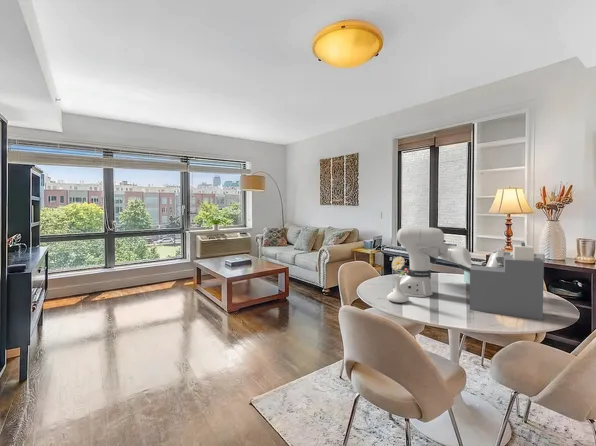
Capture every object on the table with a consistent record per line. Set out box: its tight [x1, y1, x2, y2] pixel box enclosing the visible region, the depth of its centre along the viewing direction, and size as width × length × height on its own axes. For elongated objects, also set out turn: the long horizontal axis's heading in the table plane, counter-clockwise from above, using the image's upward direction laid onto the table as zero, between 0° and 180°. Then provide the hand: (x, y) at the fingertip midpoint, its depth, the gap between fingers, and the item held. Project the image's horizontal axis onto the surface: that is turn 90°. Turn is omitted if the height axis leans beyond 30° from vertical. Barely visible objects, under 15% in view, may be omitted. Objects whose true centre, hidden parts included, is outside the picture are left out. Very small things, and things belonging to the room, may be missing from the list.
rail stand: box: [469, 256, 545, 321], centre depth 143 cm, size 12×28×26 cm, turn 57°
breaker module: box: [512, 241, 535, 261], centre depth 142 cm, size 19×7×8 cm, turn 148°
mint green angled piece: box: [463, 270, 470, 285], centre depth 195 cm, size 12×12×8 cm
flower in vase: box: [386, 256, 410, 303], centre depth 159 cm, size 13×11×25 cm
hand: (520, 251), depth 147 cm, fingers closed on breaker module, 3 cm apart
